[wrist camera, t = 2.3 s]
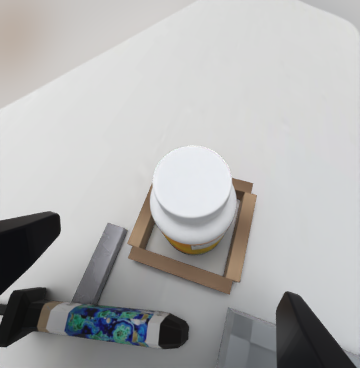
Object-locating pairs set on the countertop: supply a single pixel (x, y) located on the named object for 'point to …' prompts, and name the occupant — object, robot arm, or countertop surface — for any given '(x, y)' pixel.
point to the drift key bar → (100, 265)
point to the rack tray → (251, 343)
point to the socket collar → (190, 272)
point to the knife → (88, 321)
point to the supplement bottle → (193, 198)
